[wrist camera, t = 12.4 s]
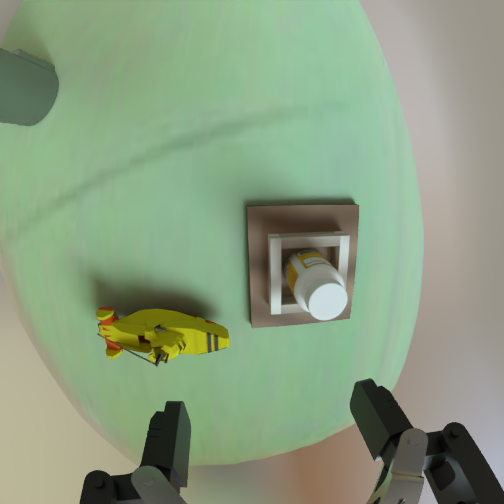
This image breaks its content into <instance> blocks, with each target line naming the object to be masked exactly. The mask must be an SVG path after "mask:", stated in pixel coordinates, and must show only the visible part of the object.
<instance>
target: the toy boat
mask: <svg viewBox="0 0 504 504" xmlns="http://www.w3.org/2000/svg"><path fill="white" fill-rule="evenodd" d="M114 313H115V311H114V309H113V308H112V307H101V308H99V309H98V310H97V312H96V315H97V319H98V320H101V323H99V324H98V327H99V331H100V333H101V335H100V334H98V335H100V336H101V337H102V338H103V339H105V340H106V344H107V349H106V354H107V357H108V358H111V359H114V358H116V357H117V356H119V355H120V354H121V353H122V351H123V349H125V350H127V349H128V350H127V351H128V352H130V353H132V354H134V355H136V356H138V357H140V358H142V359H144V360H146V361H148V362H150V363H153V362H155V363H153V364H155V366H158V364H159V362H160V361H165V363H167V360H169V359H173V358H174V357H176V356H177V355H178V354H180V353H181V354H203V353H207V352H208V353H209V352H212V351H218V350H219V349H223V348H227V347H228V346H229V335H228V330H227V329H226V328H225V327H223V326H221V325H219V324H216V323H214V322H211V321H208V320H205V319H202V318H200V317H197V316H193V317H192V316H189V315H186V314H183V313H180V312H177V311H172V310H164V309H147V310H140V311H138V312H135V313H133V314H131V315H129V316H126V317H124V318H121V319H119V317H118V316H114V318H113V314H114ZM159 324H161V326H160V327H162V328H163V329H166V330H167V331H155V326H157V325H159ZM198 330H199V331H198ZM129 350H133V351H138V352H144V353H149V352H152V353H151V354H149V359H150V361H149V360H147V359H145V358H143V357H141V356H139V355H137V354H135V353H133V352H131V351H129ZM150 350H151V351H150Z"/></svg>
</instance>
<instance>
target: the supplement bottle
mask: <svg viewBox="0 0 504 504" xmlns="http://www.w3.org/2000/svg"><path fill="white" fill-rule="evenodd" d="M284 274H285V278H286V280H287V282H288V284H289V287H290V289H291V291H292V293H293V295H294V297H295V299H296V301H297V303H298V305H299V306H300V307H301V308H302V309H304V310H305V311H307V312H310V314H311V315H312V316H313V317H315V318H316V319H319V320H330V319H333V318H335V317H337V316H338V315H339V314H340V313H341V312H342V311H343V310H344V308H345V306H346V304H347V293H346V290H345V289H344V281H343V278H342V276H341V274H340V273H339V272H338V271H337V270H336V269H335V268H334V267H333V266H332V265H331V264H330V263H329V262H328V261H327V260H326V259H325V258H324V257H323V256H322V255H321V254H320V253H319V252H317V251H315V250H313V249H300V250H298V251H296V252H294V253H293V254H292V255H290V257H289V258H288V259H287V261H286V264H285V268H284Z"/></svg>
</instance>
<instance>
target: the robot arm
mask: <svg viewBox="0 0 504 504" xmlns="http://www.w3.org/2000/svg"><path fill="white" fill-rule="evenodd" d="M57 91H58V78H57V75H56V74H55V73H54V66H53V65H51V64H49V63H48V62H46V61H44V60H41V59H39V58H37V57H35V56H33V55H31V54H29V53H27V52H25V51H23V50H21V49H17V50H15V51H13V52H12V53H11V52H9V51H6V50H4V49H1V48H0V122H1V123H9V124H17V125H24V126H32V125H35V124H36V123H38V122H39V121H41V120H42V119H43V118H44V117H45V116H46V114H47V113H48V112H49V110H50V109H51V107H52V105H53V103H54V101H55V98H56V95H57ZM350 410H351V413H352V415H353V417H354V419H355V421H356V423H357V426H358V428H359V430H360V432H361V434H362V436H363V438H364V440H365V442H366V445H367V447H368V449H369V451H370V453H371V455H372V457H373V459H374V461H377V460H380V459H382V460H383V462H384V463H383V465H382V468H381V471H380V473H379V476H378V479H377V482H376V484H375V487H374V489H373V492H372V494H371V496H370V498H369V499H368V501H367V503H366V504H418V502H419V499H420V496H421V492H422V488H423V484H424V477H422V476H421V474H422V470H423V471H424V474H425V475H426V478H427V480H428V482H429V484H430V487H431V489H432V491H433V493H434V495H435V498H436V500H437V502H438V504H504V491H503V489H502V487H501V485H500V484H499V482H498V480H497V478H496V477H495V475H494V473H493V471H492V470H491V468H490V466H489V464H488V463H487V461H486V459H485V458H484V456H483V455H482V453H481V451H480V450H479V448H478V447H477V445H476V444H475V442H474V440H473V439H472V437H471V436H470V434H469V433H468V431H467V430H466V428H465V427H464V426H463V425H462V424H460V423H457V422H452V423H449V424H447V425H446V426H445V428H444V429H443V430H442V431H437V432H430V433H425V432H424V431H423V430H420V429H417V428H414V427H413V426H412V425H411V424H410V422H409V420H408V419H407V417H406V415H405V414H404V412H403V411H402V409H401V408H400V406H398V403H397V402H396V400H394V397H393V396H392V394H391V392H390V391H389V390H387V389H386V388H384V387H383V386H379V387H377V385H376V384H375V382H374V381H373V380H372V379H371V378H370V379H366V380H362V381H358V382H356V383H355V386H354V390H353V393H352V397H351V400H350ZM190 437H191V424H190V419H189V416H188V413H187V410H186V407H185V404H184V402H183V401H167V402H166V405H165V410H164V412H161V411H157V412H156V413H155V414H154V416H153V417H152V418H151V420H150V424H149V430H148V433H147V437H146V442H145V447H144V452H143V456H142V461H141V464H140V466H139V468H137V469H136V470H135V471H134V472H132V473H130V474H125V475H115V476H110V475H109V474H108V473H106V472H104V471H100V470H95V471H92V472H90V473H89V474H88V475H87V476H86V477H85V480H84V484H83V489H82V494H81V499H80V504H187V503H186V502H185V501H184V500H183V498H182V497H181V496H180V495H179V494H180V487H187V479H188V463H189V450H190Z"/></svg>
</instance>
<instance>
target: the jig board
mask: <svg viewBox="0 0 504 504" xmlns="http://www.w3.org/2000/svg"><path fill="white" fill-rule="evenodd" d="M358 221H359V205H357V204H296V205H260V206H247V224H248V251H249V277H250V302H251V325H252V328H261V327H275V326H287V325H298V324H308V323H317V322H326V321H334V320H342V319H350V312H351V305H352V296H353V288H354V278H355V267H356V255H357V240H358ZM300 249H313V250H315V251H317V252H319V253H320V254H321V255H322V256H323V257H324V258H325V259H326V260H327V261H328V262H329V263H330V264H331V265H332V266H333V267H334V268H335V269H336V270H337V271H338V272H339V273H340V274H341V276H342V278H343V281H344V289H345V290H346V293H347V304H346V306H345V308H344V310H343V311H342V312H341V313H340V314H339V315H338V316H337V317H335V318H333V319H330V320H319V319H316V318H315V317H313V316H312V315H311V314H310V312H307V311H305V310H304V309H302V308H301V307H300V306H299V305H298V303H297V301H296V299H295V297H294V295H293V293H292V291H291V289H290V287H289V284H288V282H287V280H286V278H285V274H284V268H285V264H286V261H287V259H288V258H289V257H290V255H292V254H293V253H294V252H296V251H298V250H300Z"/></svg>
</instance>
